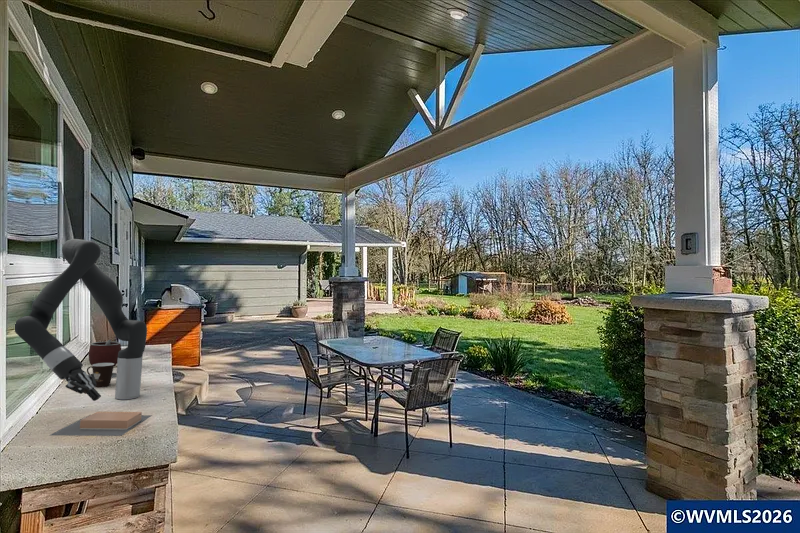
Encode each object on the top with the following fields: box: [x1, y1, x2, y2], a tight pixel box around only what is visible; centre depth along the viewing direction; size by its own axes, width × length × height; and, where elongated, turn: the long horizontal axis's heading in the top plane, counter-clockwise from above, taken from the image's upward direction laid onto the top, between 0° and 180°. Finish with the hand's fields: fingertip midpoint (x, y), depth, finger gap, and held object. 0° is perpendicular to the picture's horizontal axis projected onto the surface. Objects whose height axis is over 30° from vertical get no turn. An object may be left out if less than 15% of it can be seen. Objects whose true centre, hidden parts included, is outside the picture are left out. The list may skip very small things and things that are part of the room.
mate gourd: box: [88, 339, 122, 379], centre depth 223 cm, size 16×14×20 cm
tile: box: [79, 410, 143, 430], centre depth 152 cm, size 10×3×15 cm
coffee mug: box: [86, 363, 115, 388], centre depth 206 cm, size 12×9×10 cm
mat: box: [49, 414, 153, 437], centre depth 152 cm, size 22×22×1 cm
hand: (97, 398), depth 152 cm, fingers closed
